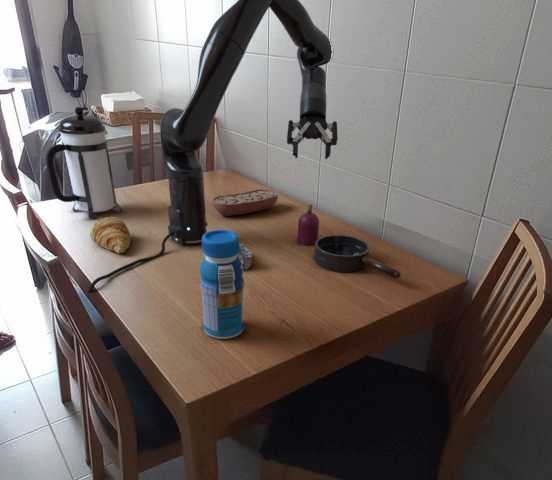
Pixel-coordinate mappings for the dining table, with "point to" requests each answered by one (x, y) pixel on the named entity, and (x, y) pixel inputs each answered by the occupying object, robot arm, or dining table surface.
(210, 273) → the beverage bottle
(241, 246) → the grey irregular chunk
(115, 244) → the croissant
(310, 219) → the purple eggplant
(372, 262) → the pan handle
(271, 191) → the anatomical model
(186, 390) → the dining table surface
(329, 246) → the pan
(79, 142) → the coffee press
